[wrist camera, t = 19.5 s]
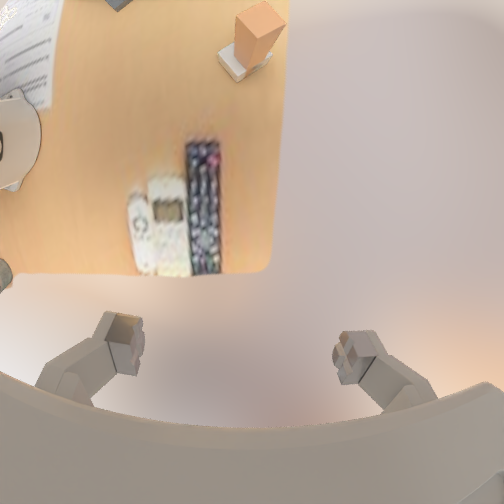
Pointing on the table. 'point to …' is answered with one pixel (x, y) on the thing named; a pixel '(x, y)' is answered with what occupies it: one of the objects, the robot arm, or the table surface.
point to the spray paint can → (4, 275)
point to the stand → (118, 4)
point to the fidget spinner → (7, 15)
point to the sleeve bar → (251, 41)
